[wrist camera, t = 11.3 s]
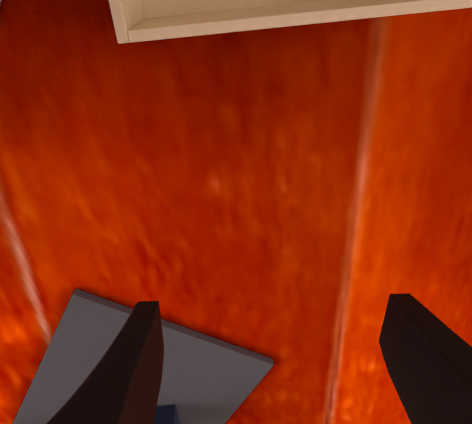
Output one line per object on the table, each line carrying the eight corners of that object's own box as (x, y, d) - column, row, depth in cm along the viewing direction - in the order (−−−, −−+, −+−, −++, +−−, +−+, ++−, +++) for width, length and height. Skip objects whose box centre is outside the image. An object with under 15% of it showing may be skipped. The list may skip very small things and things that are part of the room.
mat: (157, 497, 37) (156, 505, 37) (-5, 460, 34) (-9, 468, 33) (273, 358, 29) (274, 365, 29) (75, 287, 25) (72, 294, 25)
